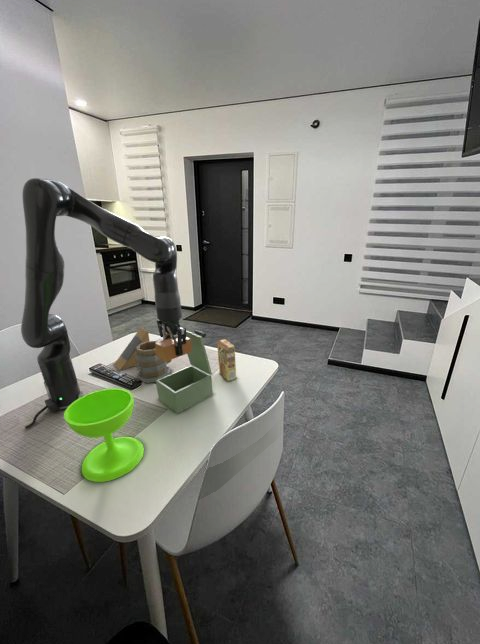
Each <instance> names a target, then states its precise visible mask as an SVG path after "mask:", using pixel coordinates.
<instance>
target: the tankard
mask: <svg viewBox="0 0 480 644" xmlns="http://www.w3.org/2000/svg"><path fill="white" fill-rule="evenodd" d="M161 341H163V339H162V340H161ZM156 342H159V341H158V340H150V341H147V342H144V343H141V344H139V345H137V347H136V354H135V357H136V360H138V365H136V368H137V371H138V373H137V376H136V377H137V380H138V381H141V382H142V383H145V384H148V383H149V384H151V383H156V380H158V379H160V378H163V377H165V376H167V375H170V373H171V372H170V371H171V369H170V366H167V365H168V364H169V363H171V362H172V360H169V361H167V362H165V361H163V360H162V359H160V358H158V357H157V354H156V347H155V343H156Z"/></svg>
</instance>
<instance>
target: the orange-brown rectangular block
mask: <svg viewBox="0 0 480 644" xmlns="http://www.w3.org/2000/svg"><path fill="white" fill-rule="evenodd" d="M162 340H163V339H162ZM162 340H159V341H158V342H156V343H155V347H156V354H157V357H158V358H160V359H162V360H163V361H165V362H167V361H169V360H171V361H172V360H174V359H177V358H179V357H182V356H185V355H187V353H190V352H192V348H191V339H190V338H188V337H186V344H184V345H182V350H183V354H182V355H180V356H176V351H175V344H174V341H173V340H172V339H171V338H169V339H166V340H163V341H162ZM176 340H177V339H176ZM182 341H183V339H182Z"/></svg>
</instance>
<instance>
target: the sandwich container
mask: <svg viewBox="0 0 480 644" xmlns="http://www.w3.org/2000/svg"><path fill="white" fill-rule="evenodd" d="M149 334H150V333H149V331H148V330H146V329H145V328H144V327H142V326H140V327H139V329H138V330H137V332H136V333H135V334H134V336H133V338H132V339H131V340H130V342H129V343H128V344H127V345H126V347H125V349H124V350H123V351H122V353H121V354H120V355H119V356H118V357H117V359H116V361H115V362H114V363H113V365H114V367H115V368H116V369H118V371H122V370H126V369H130V368H132V367H137V365H138V360H136V357H135V354H136V347H137V345H139V344H141V343H144V342H147V341H151V340H150V335H149Z"/></svg>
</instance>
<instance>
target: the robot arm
mask: <svg viewBox="0 0 480 644" xmlns="http://www.w3.org/2000/svg"><path fill="white" fill-rule="evenodd" d="M21 195H22V208H23V215H24V216H23V217H24V225H25V270H24V271H25V275H24V277H25V278H24V279H25V286H24V287H25V291H24V304H23V305H24V306H23V312H22V318H21V324H20V333H21V338H22V340H23V342H24V343H25V344H26V345H27V346H28V347H30V348H33V349H41V348H42V350H41V351H40V352H39V353H38V355H37V357H36V360H37V364H38V367H39V369H40V370H39V371H40V373H41V375H42V379H43V384H44V388H45V391H46V394H47V397H48V398H47V399H44V400H43V401H44V404H45V406H44V407H43V408H41V409H40V410H39V411H38V412H37V413H36V414H35V415H34V417H33V418H32V419H33V420H32V422H31V423H28V425H25V427H24V429H26V430H27V429H29V428H31V427H33V426H34V425H35V423H36V422H37V419H38V417H39V416H40V415H41V414H42V413H43V412H45V411H46V410H47V409H48V411H49V412H50V413H53V412H57V411H60V410H61V411H63V410H66V409H67V407H68V406H69V405H70V404H72V403H73V402H74V401H76V400H77V399H79V398H80V397H82V396H83V391H82V390H81V389H80V385H79V381H78V378H77V374H76V371H75V368H74V364H73V361H72V358H71V343H70V338H69V337H70V336H69V333H68V328H67V326H66V324H65V322H64V320H62V319H61V317H60V316H58V315H56V314H54V313H50V311H51V309H52V306H53V304H54V302H55V300H57V297H58V295H59V294H60V292H61V290H62V287H63V284H64V280H65V279H64V278H65V261H64V257H63V255H62V253H61V251H60V248H59V246H58V244H57V241H56V235H55V234H56V233H55V232H56V221H57V217H67V218H68V217H69V218H72V219H74V220H78V221H81V222H83V223H86V224H87V225H90V227H92V228H94V229H95V230H96V231H97V232H99V233H100V234H101V235H102V236H104V237H106V238H107V239H109V240H111V241H113V242H115V243H117V244H119V245H121V246H123V247H126V248H128V249H130V250H132V251H133V252H135V253H137V254H138V255H139V256H141V257H143V258H144V259H146V260H148V261H150V262H152V263H154V266H155V267H154V268H155V269H154V271H153V273H152V282H153V290H154V303H155V310H156V317H157V320H156V325H157V328H158V332H159V335H160V338H162V340H166V339H169V338H171V339H172V340H173V341H174V344H175V351H176V356H180V355H182V354H183V350H182V345H184V344H186V330H187V328H186V327H181V323H180V320H181V319H182V317H183V313H182V312H183V311H182V304H181V296H180V292H179V285H178V278H177V268H178V252H177V246H176V244H175V242H174V240H172V239H171V238H170V237H167V236H158V237H157V236H154V235H152V234H151V233H148V232H146V231H145V230H144V228H143V227H141V226H140V225H138V224H137V223H134V222H132V221H130V220H128V219H126V218H124V217H121V216H119V215H117V214H115V213H113V212H111V211H109V210H107V209H106V208H104V207H103V208H102V207H101V206H99V205H97V204H96V203H94V202H92V201H91V200H89V199H87V198H85V197H84V196H83V195H81V194H80V193H78V192H77V191H76V190H74V189H72V188H71V187H69V186H68V185H66V184H64V183H63V182H61V181H59V180H56V179H48V178H40V177H34V178H29V179H28V180H27V181H26V182H25V183H24V185H23V187H22V191H21ZM176 339H177V340H176ZM182 339H183V341H182ZM182 356H183V355H182ZM180 357H181V356H180Z"/></svg>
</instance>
